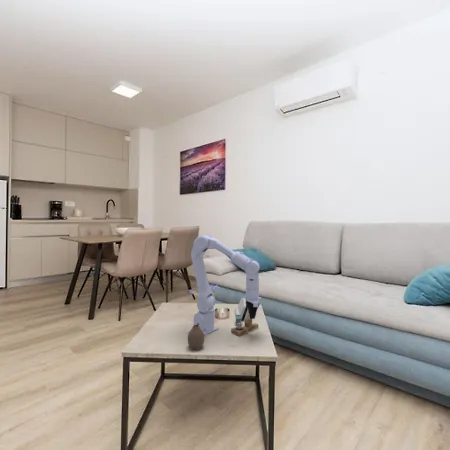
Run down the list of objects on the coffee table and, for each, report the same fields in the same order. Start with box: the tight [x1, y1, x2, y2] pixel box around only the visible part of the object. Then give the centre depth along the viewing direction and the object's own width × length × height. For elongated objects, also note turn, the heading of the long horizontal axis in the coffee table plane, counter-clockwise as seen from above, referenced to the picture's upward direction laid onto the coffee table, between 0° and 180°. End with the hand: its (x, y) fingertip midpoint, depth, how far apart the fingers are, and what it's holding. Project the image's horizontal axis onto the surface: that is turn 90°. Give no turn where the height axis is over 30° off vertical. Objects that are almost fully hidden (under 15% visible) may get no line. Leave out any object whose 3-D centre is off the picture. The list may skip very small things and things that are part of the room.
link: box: [230, 317, 259, 337], centre depth 132 cm, size 14×5×5 cm, turn 129°
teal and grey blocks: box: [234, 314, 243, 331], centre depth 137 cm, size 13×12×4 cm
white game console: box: [234, 297, 249, 322], centre depth 153 cm, size 17×5×10 cm, turn 1°
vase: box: [187, 324, 206, 350], centre depth 115 cm, size 7×7×9 cm
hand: (252, 318), depth 128 cm, fingers closed
